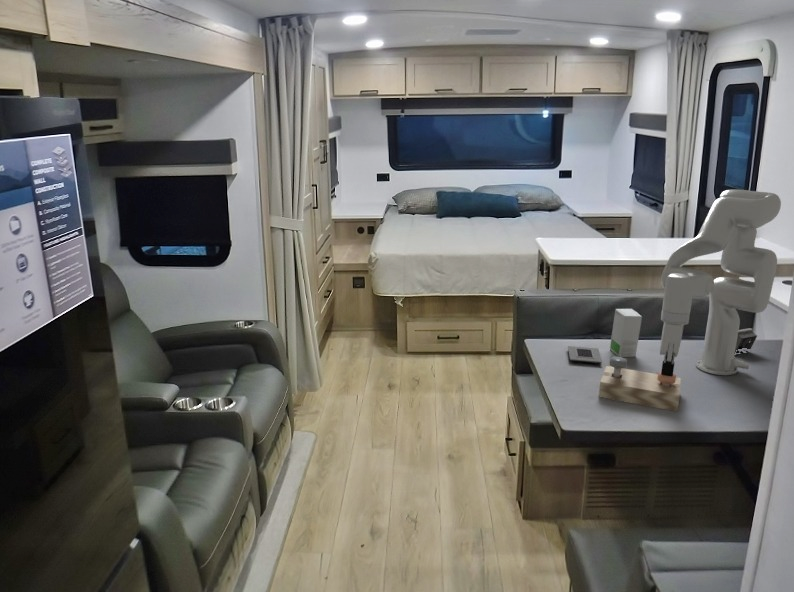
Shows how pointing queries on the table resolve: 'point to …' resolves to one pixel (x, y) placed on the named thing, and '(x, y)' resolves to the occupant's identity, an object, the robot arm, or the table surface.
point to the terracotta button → (666, 379)
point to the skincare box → (625, 332)
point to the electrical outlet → (584, 354)
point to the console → (639, 389)
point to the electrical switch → (745, 339)
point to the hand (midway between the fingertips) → (666, 374)
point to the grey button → (618, 365)
